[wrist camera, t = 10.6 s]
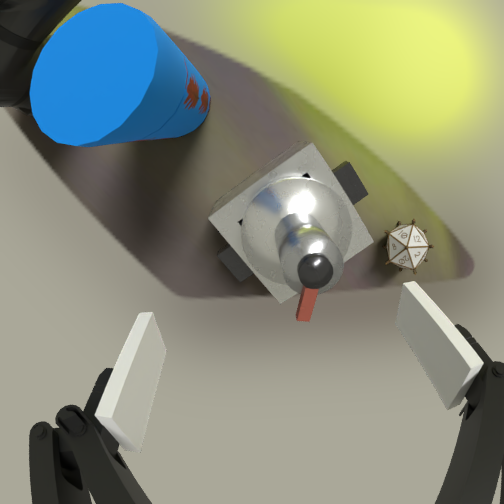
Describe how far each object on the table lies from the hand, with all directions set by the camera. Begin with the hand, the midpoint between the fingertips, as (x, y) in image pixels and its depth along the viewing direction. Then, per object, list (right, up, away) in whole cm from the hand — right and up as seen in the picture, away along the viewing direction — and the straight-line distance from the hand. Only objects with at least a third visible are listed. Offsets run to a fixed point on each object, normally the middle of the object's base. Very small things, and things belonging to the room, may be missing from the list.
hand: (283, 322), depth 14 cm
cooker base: (+4, +10, +29) cm, 30 cm away
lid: (+4, +7, +23) cm, 24 cm away
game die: (+23, +6, +31) cm, 39 cm away
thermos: (-13, +25, +22) cm, 36 cm away
